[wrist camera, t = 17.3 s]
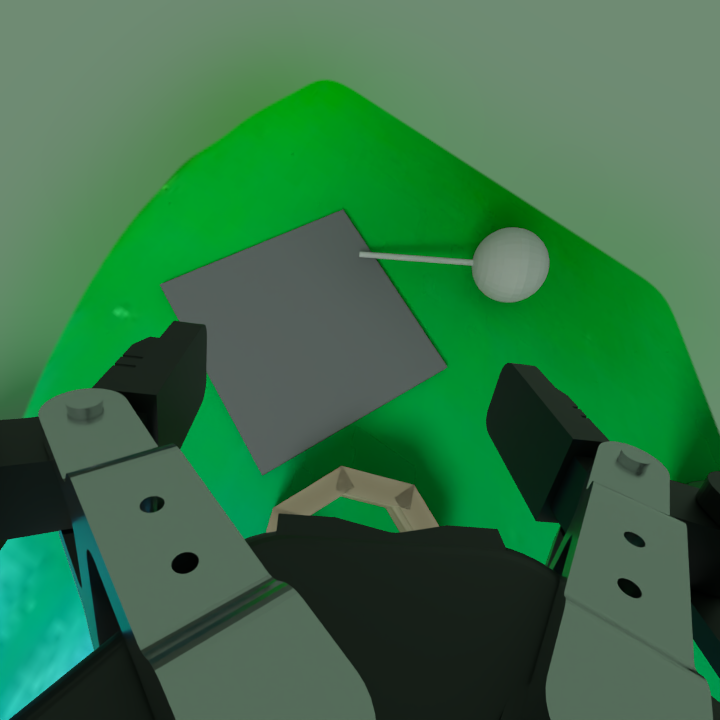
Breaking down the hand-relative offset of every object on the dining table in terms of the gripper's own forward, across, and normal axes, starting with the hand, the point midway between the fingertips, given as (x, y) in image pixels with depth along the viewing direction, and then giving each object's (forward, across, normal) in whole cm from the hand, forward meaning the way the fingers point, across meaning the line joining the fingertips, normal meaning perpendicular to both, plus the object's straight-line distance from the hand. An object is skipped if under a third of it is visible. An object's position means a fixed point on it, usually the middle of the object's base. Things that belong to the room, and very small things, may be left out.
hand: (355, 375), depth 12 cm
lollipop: (+26, -2, +2) cm, 26 cm away
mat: (+22, +1, +8) cm, 23 cm away
